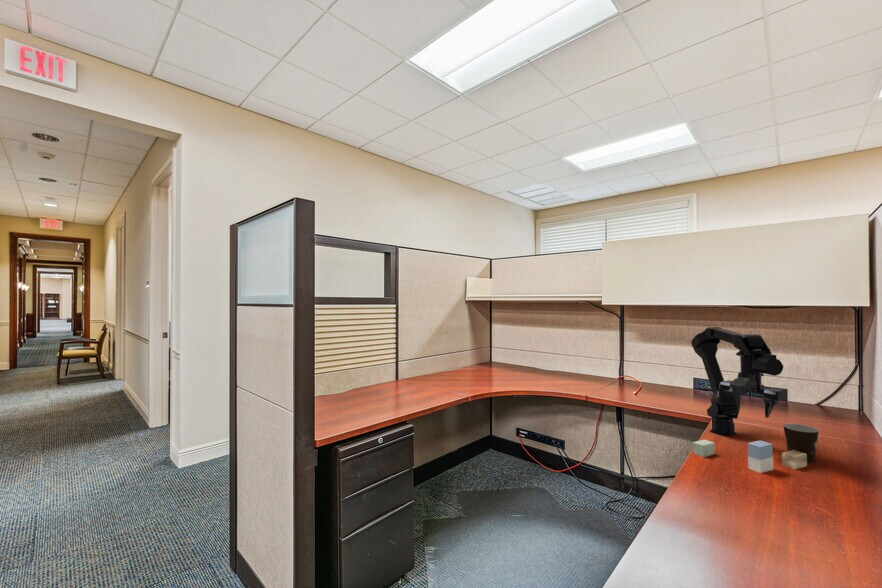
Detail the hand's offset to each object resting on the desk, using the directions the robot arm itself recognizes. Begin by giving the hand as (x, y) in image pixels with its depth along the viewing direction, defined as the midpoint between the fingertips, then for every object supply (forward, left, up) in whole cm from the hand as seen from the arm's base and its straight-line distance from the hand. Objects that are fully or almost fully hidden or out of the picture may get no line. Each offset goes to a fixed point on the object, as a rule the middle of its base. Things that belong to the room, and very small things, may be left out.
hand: (752, 414), depth 138 cm
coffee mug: (+12, +6, -12) cm, 18 cm away
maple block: (+14, -4, -12) cm, 19 cm away
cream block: (+11, -16, -12) cm, 23 cm away
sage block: (-4, -20, -12) cm, 24 cm away
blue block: (+11, -16, -8) cm, 21 cm away
